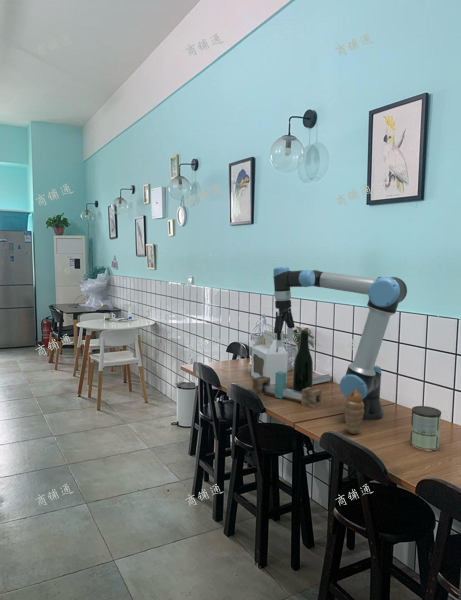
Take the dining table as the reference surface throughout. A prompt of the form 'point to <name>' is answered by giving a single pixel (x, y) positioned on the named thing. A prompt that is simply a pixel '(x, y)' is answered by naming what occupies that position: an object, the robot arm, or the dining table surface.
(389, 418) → the dining table surface
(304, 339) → the beer bottle
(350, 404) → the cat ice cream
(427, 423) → the coffee can
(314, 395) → the sleeve
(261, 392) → the socket block
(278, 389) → the grey and teal t-shape
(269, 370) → the gable box
